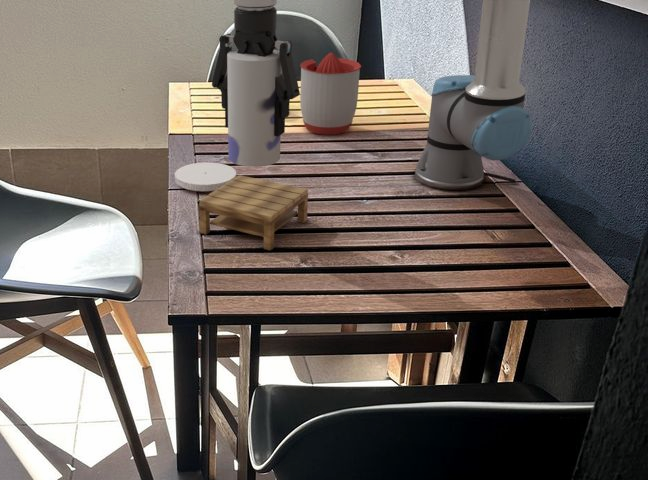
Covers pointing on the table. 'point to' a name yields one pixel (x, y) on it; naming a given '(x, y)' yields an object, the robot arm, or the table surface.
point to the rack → (253, 207)
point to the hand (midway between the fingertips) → (254, 129)
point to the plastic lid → (204, 176)
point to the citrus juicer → (329, 94)
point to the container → (252, 109)
